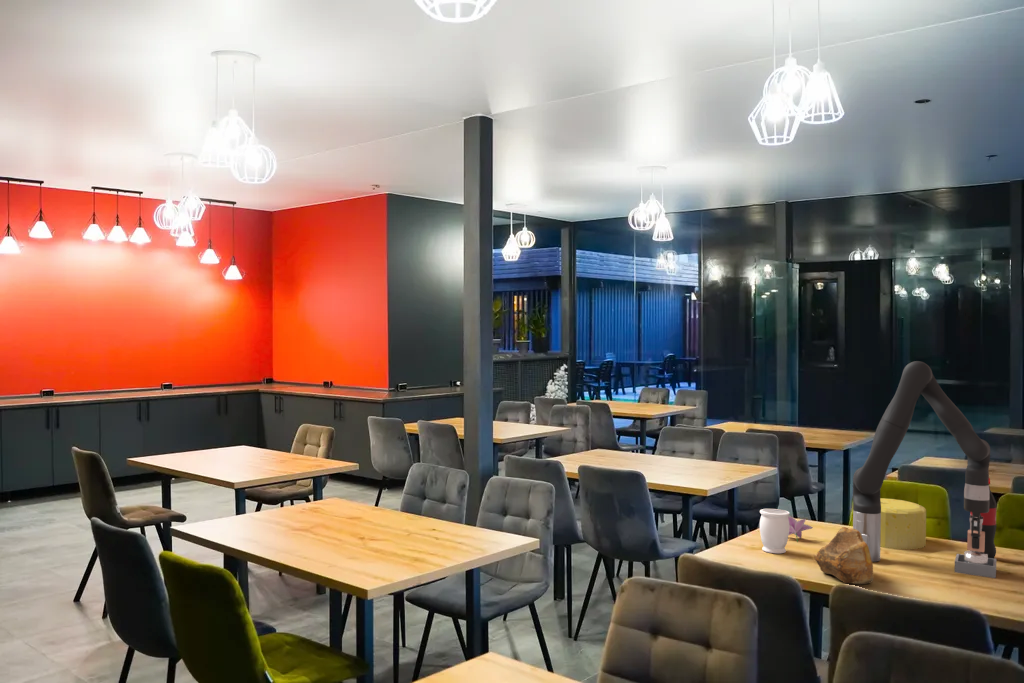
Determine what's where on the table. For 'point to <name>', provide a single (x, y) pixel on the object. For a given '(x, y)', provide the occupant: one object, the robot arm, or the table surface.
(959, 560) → the tote
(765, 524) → the jar
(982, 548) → the pink block
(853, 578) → the rough brown rock
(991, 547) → the cola bottle
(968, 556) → the tin
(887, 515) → the cheese
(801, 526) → the lily
